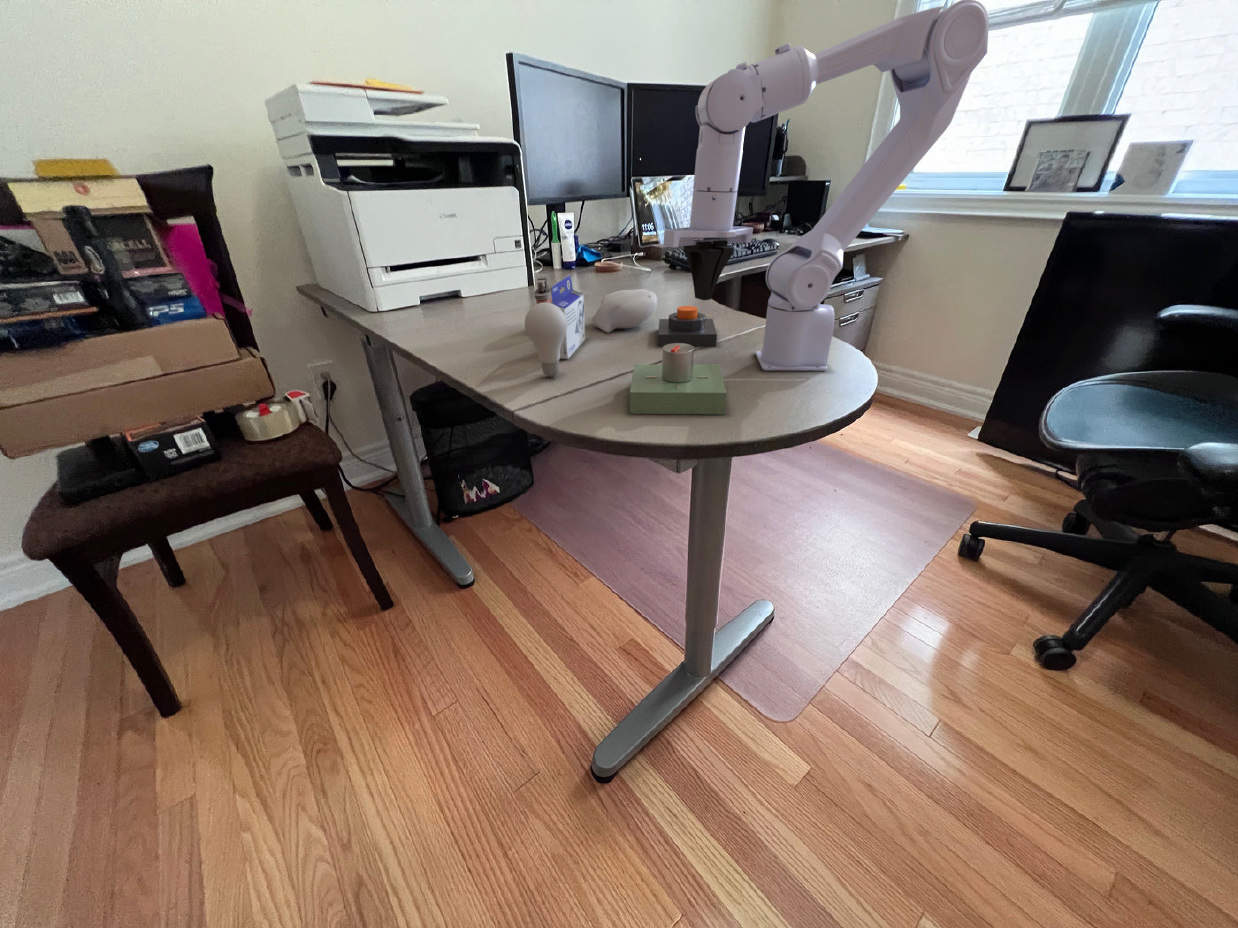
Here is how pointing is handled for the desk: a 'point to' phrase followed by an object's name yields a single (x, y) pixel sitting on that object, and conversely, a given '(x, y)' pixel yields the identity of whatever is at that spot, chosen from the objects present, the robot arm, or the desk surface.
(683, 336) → the button base
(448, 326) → the desk surface
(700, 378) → the panel
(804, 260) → the robot arm
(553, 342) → the lightbulb
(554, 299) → the ink box
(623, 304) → the shell shaped sculpture
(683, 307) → the button
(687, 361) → the lock knob
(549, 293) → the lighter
